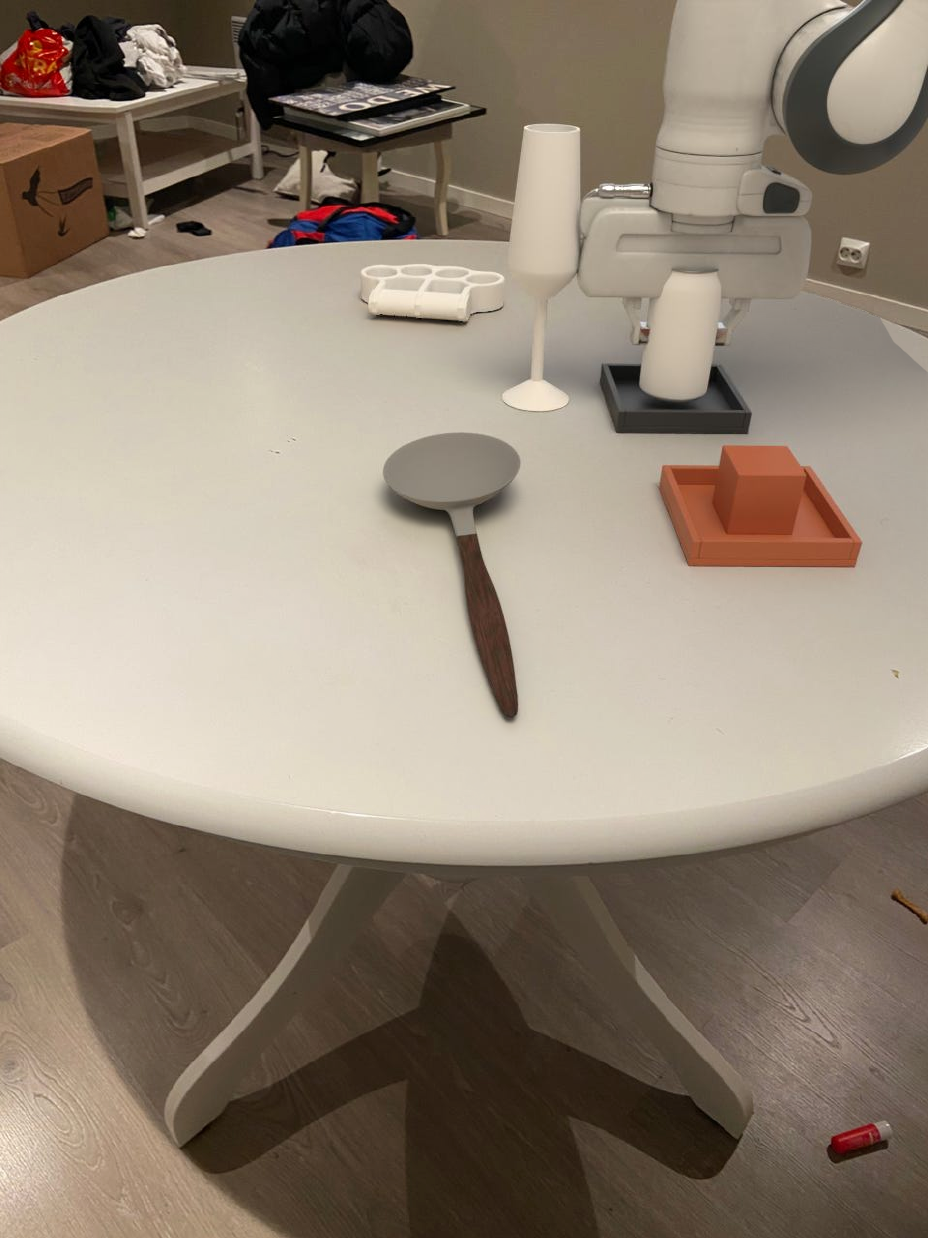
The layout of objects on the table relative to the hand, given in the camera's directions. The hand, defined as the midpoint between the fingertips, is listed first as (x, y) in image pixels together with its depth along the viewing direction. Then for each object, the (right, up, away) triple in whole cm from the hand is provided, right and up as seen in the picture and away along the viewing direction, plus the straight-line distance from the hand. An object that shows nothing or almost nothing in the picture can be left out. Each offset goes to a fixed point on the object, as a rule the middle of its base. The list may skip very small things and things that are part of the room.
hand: (679, 343), depth 89 cm
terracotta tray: (+2, -18, -15) cm, 24 cm away
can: (0, -4, +3) cm, 5 cm away
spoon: (-20, -23, -21) cm, 37 cm away
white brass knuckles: (-24, +13, +29) cm, 40 cm away
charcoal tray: (0, -5, +4) cm, 6 cm away
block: (+2, -18, -15) cm, 24 cm away
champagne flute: (-13, -4, +5) cm, 15 cm away
